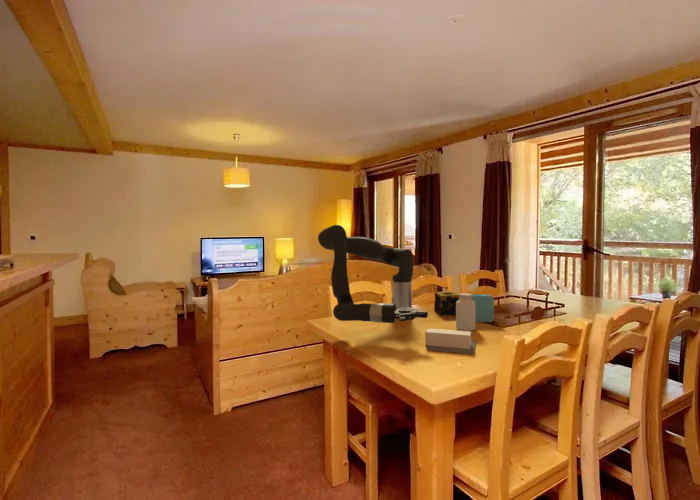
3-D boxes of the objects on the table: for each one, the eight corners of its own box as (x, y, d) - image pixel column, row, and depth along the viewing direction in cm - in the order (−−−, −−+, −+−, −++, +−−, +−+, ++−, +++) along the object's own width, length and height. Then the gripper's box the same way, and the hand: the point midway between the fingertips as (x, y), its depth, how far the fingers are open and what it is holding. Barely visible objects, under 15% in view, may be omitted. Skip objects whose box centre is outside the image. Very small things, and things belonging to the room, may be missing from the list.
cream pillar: (425, 331, 143) (470, 335, 137) (427, 328, 148) (471, 331, 142) (425, 345, 144) (470, 349, 138) (427, 341, 148) (471, 344, 143)
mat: (427, 350, 139) (427, 349, 139) (433, 338, 152) (433, 337, 152) (474, 354, 133) (474, 353, 133) (475, 342, 146) (475, 341, 146)
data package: (491, 319, 178) (491, 294, 177) (493, 322, 174) (494, 296, 173) (465, 319, 180) (465, 294, 179) (466, 321, 176) (466, 296, 175)
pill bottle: (476, 327, 167) (476, 293, 166) (474, 332, 159) (474, 296, 158) (457, 325, 170) (457, 292, 169) (454, 330, 163) (454, 295, 162)
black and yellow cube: (433, 310, 198) (433, 291, 198) (453, 310, 199) (452, 291, 199) (440, 315, 188) (440, 295, 188) (460, 314, 189) (460, 294, 188)
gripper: (387, 317, 158) (430, 319, 152) (378, 327, 145) (424, 329, 139) (386, 299, 157) (429, 301, 151) (378, 307, 145) (424, 309, 139)
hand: (427, 314), depth 145 cm, fingers closed
